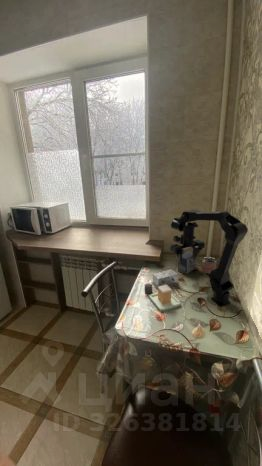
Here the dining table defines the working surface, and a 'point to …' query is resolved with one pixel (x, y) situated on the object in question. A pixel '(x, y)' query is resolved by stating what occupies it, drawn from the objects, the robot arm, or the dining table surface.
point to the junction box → (165, 278)
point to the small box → (186, 263)
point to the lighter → (208, 265)
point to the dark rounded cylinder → (148, 288)
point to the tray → (164, 307)
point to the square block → (164, 294)
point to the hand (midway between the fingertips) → (186, 260)
